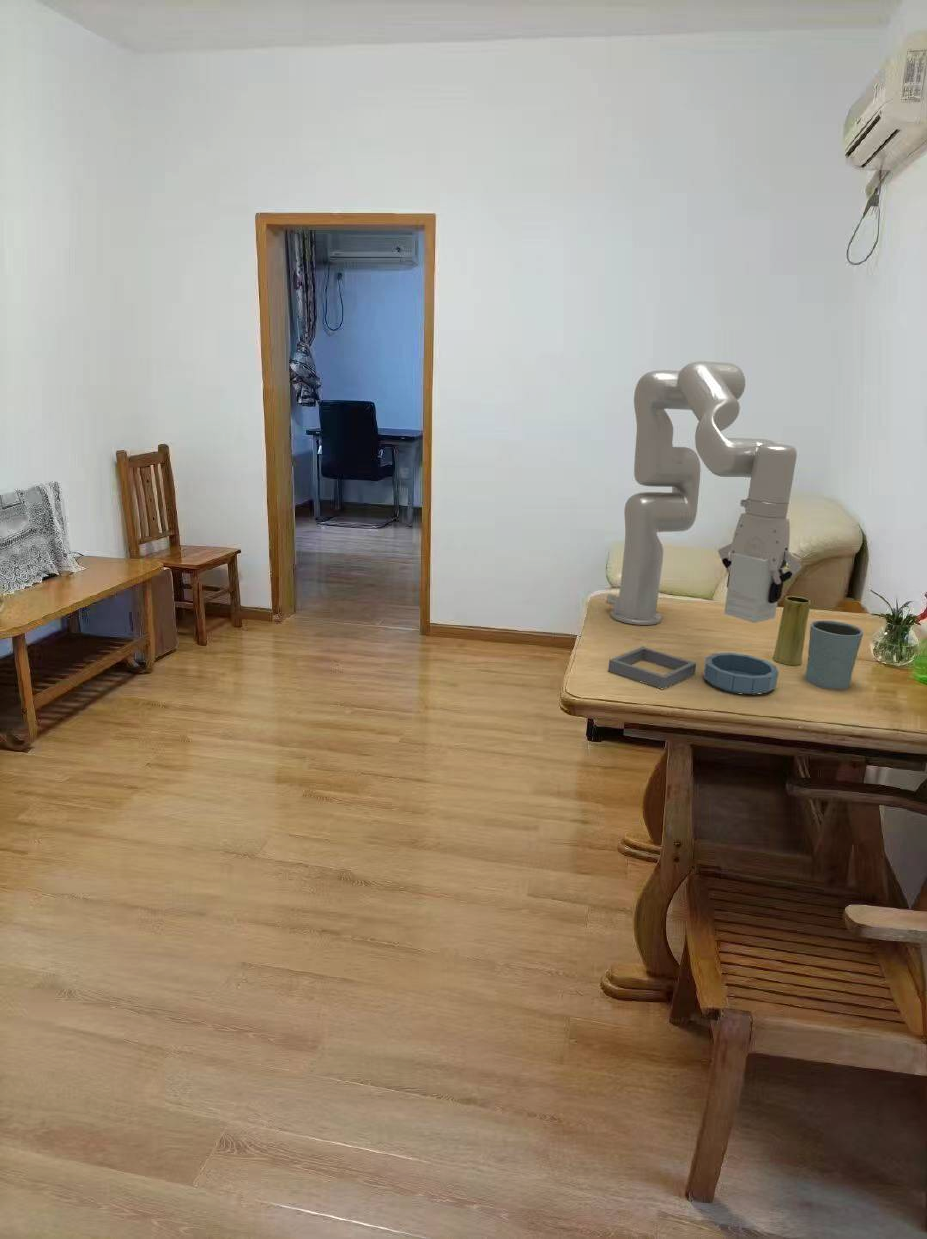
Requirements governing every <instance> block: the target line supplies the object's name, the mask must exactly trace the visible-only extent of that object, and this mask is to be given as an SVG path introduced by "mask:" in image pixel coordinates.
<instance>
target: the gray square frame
mask: <svg viewBox="0 0 927 1239" xmlns="http://www.w3.org/2000/svg"><path fill="white" fill-rule="evenodd" d="M641 661H646V662H649V663H651V664H655V663H656V665H658V664H659V666H661V667H664V668H667V669H671V671H670V672H667V673H666V674H660V673H657V672H654V671H651V670H647V669H646V668H645V669H644V668H642V667H639V666H636V665H633V663H634V664H635V663H638V662H641ZM696 667H697V662H694V661H691V660H688V659H684V658H681V657H679V656H678V657H677V656H675V655H671V654H668V653H664V652H662V651H658V650H654V649H652V648H648V647H644V646H640V647H639V648H636V649H633V650H631V651H629V652H625V653H623V654H621V655H619V656H615V657H613V658H611V659H609V660H608V668H607V671H608V672H610V673H613V674H616V675H618V676H621V675H623V676H622V677H624V676H625V678H627V679H630V680H632V681H636V680H637V682H639V681H642V682H644V683H643V684H645V683H647V684H646V685H648V684H650V685H649V686H651V685H652V686H651V687H654V686H655V687H654V688H657V687H660V688H663V689H664V688H665V687H668V688H670V687H672V686H674V685H676V684H678V683H680V682H681V681H684V680H686V679H688V678H690V677H693V676H694V675H696V669H697V668H696ZM674 669H675V670H674ZM679 681H680V682H679ZM642 682H641V683H642ZM677 682H678V683H677ZM675 683H676V684H675ZM673 684H674V685H673ZM671 685H672V686H671ZM669 686H670V687H669ZM660 688H659V689H660ZM663 689H662V690H663ZM664 690H665V689H664Z"/></svg>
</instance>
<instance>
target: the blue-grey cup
mask: <svg viewBox="0 0 927 1239" xmlns="http://www.w3.org/2000/svg"><path fill="white" fill-rule="evenodd" d="M863 636H864V631H863V629H861V628H860V627H858V626H856V625H853V624H850V623H847V622H846V623H845V622H840V621H835V620H834V621H833V620H816V621H813V622H811V623H810V628H809V642H808V650H807V651H808V652H807V654H808V656H807V662H806V663H807V664H806V672H805V680H806V681H807V683H809V684H810V685H813V686H816V687H818V688H821V689H827V690H835V691H836V690H837V691H841V690H846V689H848V688H849V687H850V684H851V681H852V675H853V671H854V668H855V665H856V661H857V660H856V659H857V657H858V652H859V649H860V646H861V643H862V639H863Z"/></svg>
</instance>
